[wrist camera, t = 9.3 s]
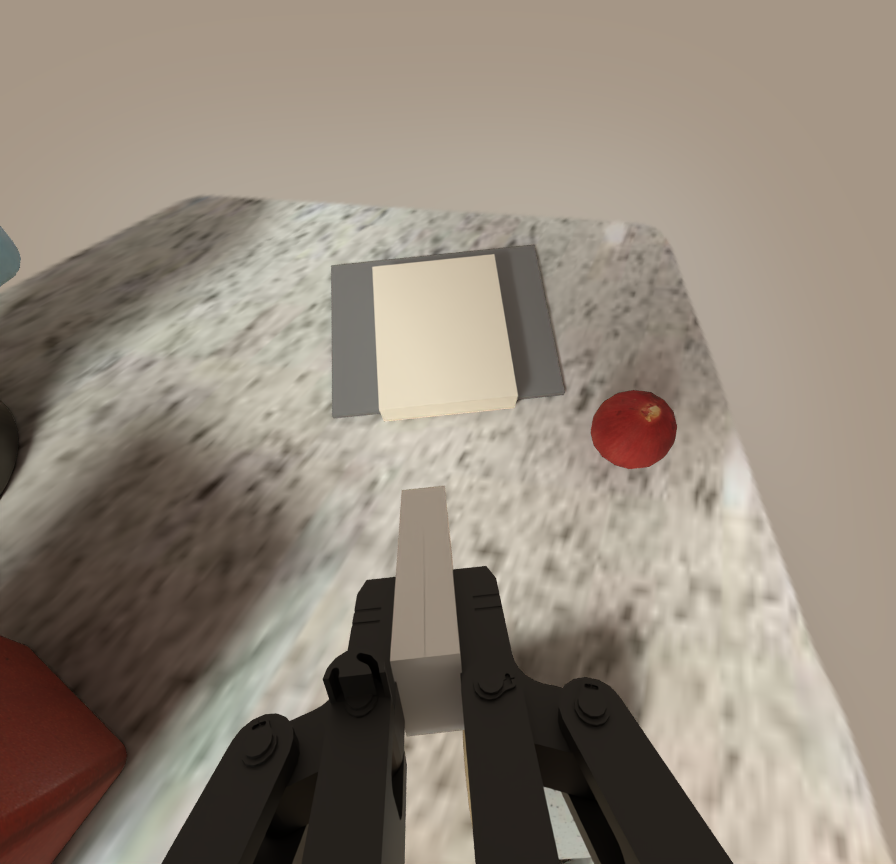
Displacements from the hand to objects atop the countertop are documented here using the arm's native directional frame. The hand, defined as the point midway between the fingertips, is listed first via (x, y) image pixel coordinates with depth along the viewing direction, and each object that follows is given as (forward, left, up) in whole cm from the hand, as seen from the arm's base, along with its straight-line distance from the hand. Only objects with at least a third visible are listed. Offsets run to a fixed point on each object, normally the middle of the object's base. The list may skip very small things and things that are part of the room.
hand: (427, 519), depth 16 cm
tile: (-6, +10, -17) cm, 21 cm away
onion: (+7, +15, -19) cm, 25 cm away
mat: (-12, +17, -19) cm, 28 cm away
